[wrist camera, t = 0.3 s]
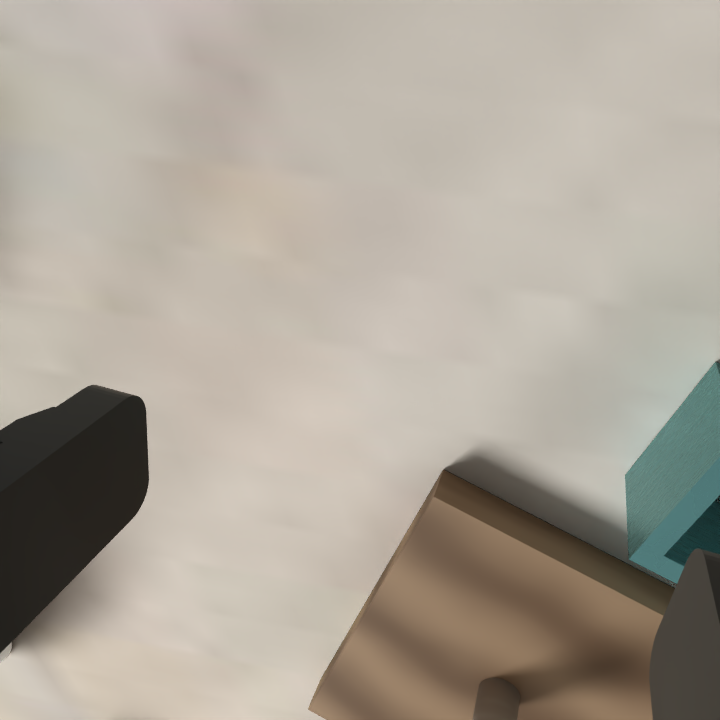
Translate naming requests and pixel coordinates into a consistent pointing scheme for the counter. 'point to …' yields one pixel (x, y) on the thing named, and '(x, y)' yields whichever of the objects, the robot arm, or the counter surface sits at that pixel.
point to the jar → (5, 652)
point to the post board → (496, 623)
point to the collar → (678, 486)
